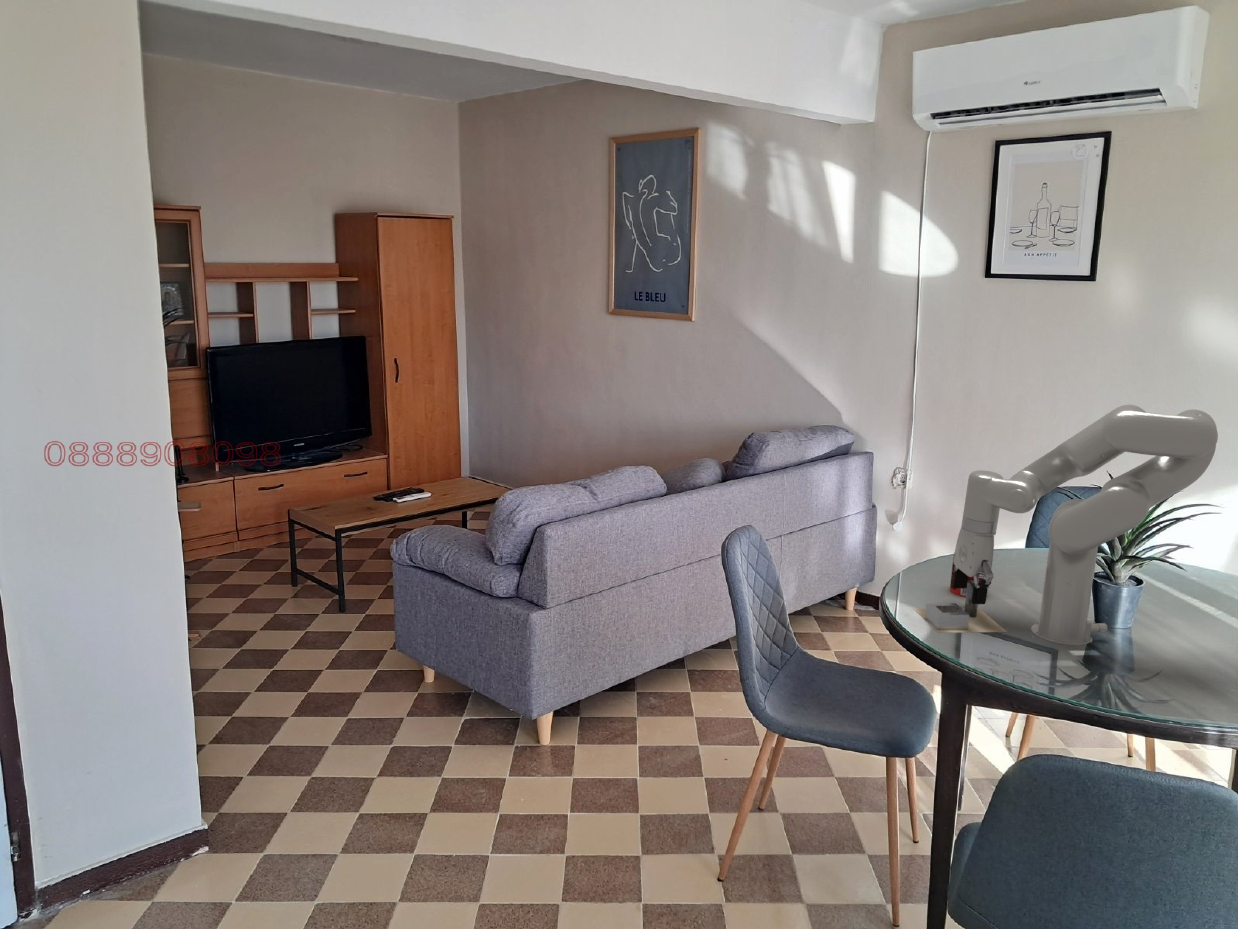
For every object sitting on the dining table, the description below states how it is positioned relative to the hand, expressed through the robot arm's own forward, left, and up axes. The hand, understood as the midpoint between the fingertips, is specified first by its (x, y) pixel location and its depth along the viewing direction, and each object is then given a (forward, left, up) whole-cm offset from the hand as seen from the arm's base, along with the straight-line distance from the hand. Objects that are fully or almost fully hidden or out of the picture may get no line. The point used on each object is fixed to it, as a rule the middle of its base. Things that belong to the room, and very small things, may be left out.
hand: (968, 595), depth 221 cm
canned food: (-7, -15, -6) cm, 17 cm away
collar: (+7, +5, -5) cm, 10 cm away
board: (+3, +3, -6) cm, 8 cm away
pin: (-1, 0, -5) cm, 5 cm away
